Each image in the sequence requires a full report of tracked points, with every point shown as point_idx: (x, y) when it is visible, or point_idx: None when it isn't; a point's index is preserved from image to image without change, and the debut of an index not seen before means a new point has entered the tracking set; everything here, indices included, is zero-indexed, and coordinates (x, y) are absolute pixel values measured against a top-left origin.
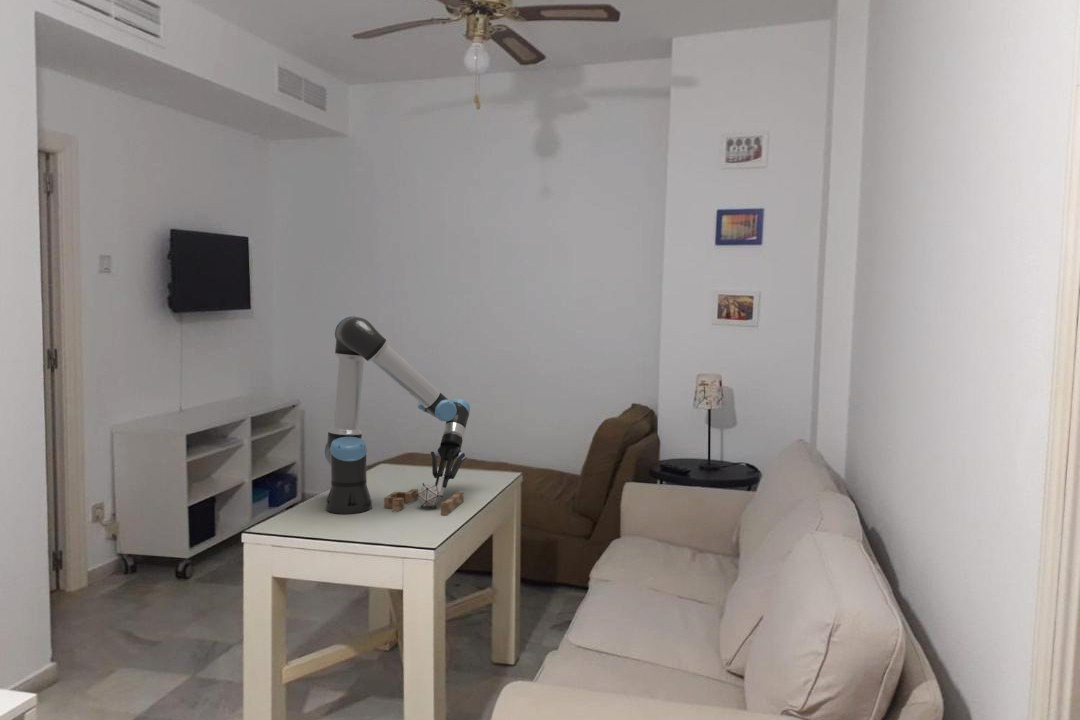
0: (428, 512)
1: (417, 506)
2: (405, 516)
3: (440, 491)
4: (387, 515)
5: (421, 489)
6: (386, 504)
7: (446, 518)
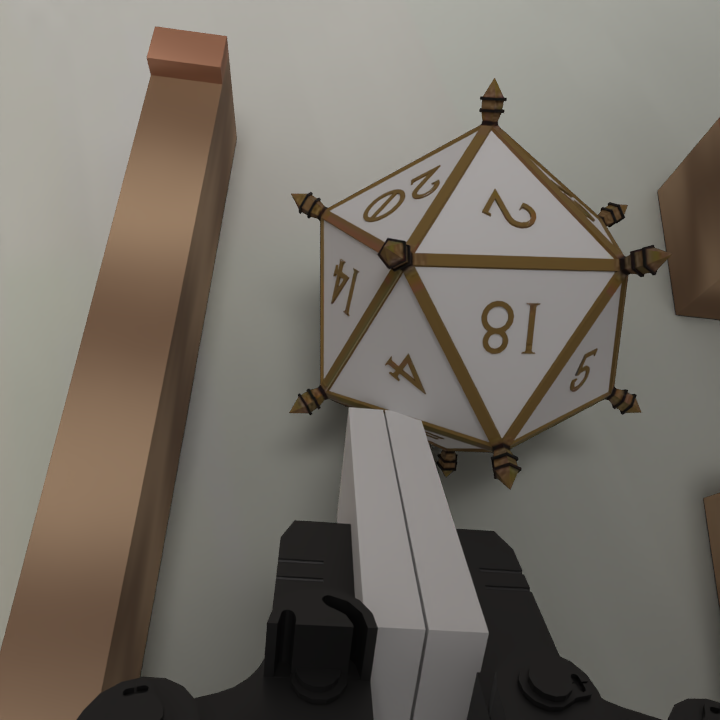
0: None
1: None
2: (532, 84)
3: (348, 437)
4: (685, 99)
5: (600, 229)
6: None
7: None
